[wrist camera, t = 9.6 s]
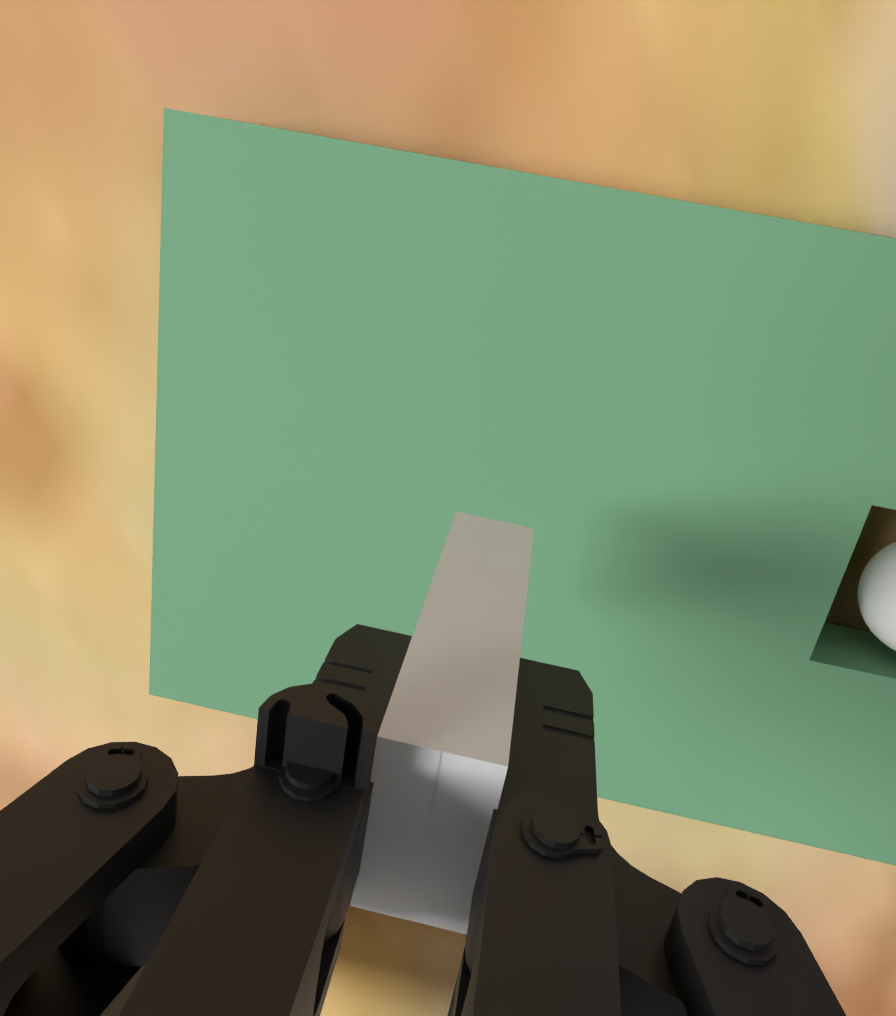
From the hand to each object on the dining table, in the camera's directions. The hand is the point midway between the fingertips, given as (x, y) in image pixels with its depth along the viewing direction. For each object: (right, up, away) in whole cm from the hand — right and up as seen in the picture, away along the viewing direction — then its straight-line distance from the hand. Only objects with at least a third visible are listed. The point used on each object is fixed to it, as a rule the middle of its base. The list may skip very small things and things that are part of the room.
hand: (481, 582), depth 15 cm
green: (+5, +1, +7) cm, 8 cm away
